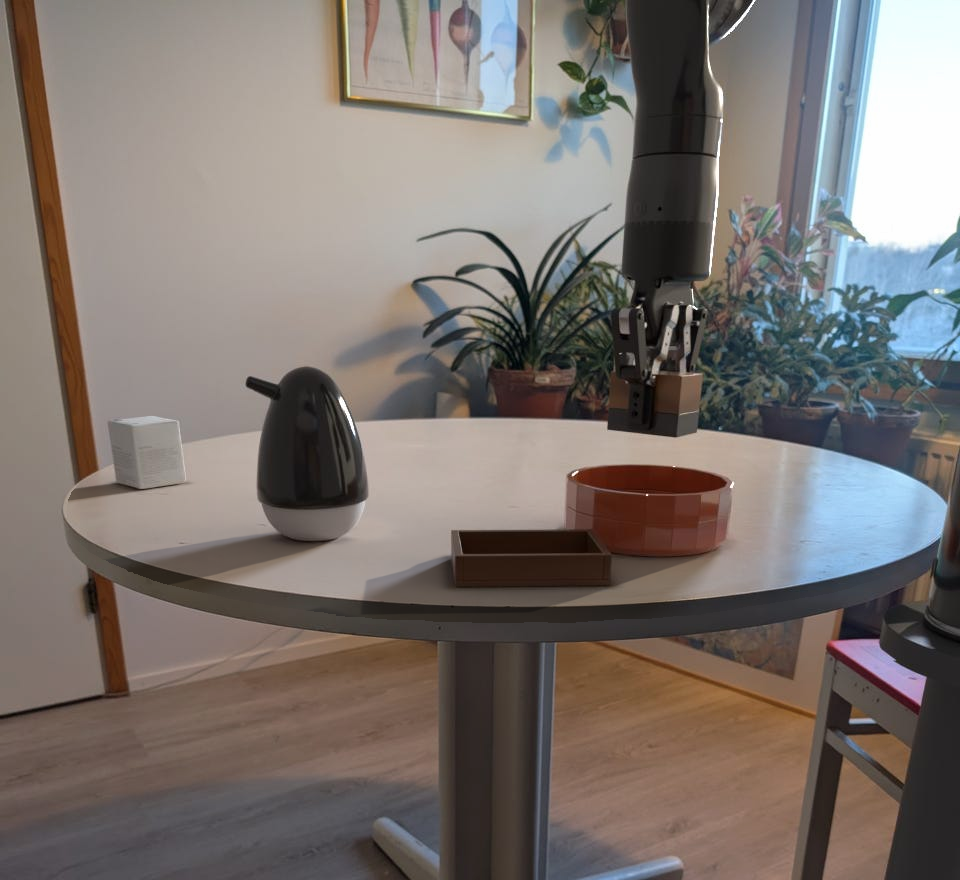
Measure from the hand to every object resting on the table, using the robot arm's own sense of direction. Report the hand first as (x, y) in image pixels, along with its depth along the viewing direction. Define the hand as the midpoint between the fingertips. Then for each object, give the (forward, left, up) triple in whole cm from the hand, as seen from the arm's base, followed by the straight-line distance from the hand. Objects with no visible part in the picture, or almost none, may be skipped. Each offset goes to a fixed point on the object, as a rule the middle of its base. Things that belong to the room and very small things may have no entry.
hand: (652, 426), depth 81 cm
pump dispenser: (+24, +20, -10) cm, 33 cm away
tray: (+2, +17, -10) cm, 20 cm away
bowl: (0, 0, -10) cm, 10 cm away
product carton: (+57, +16, -10) cm, 60 cm away
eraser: (0, 0, 0) cm, 0 cm away
